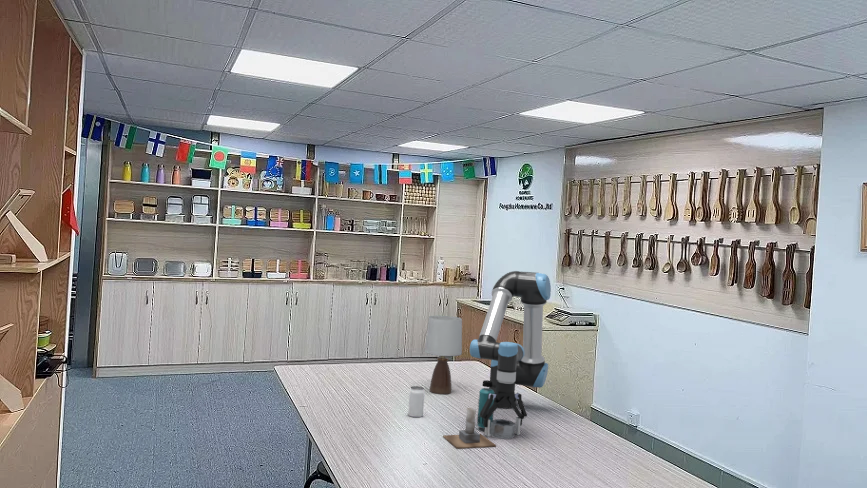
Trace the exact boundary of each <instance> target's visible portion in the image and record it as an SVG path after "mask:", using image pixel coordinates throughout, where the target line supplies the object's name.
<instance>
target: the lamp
mask: <svg viewBox="0 0 867 488" xmlns="http://www.w3.org/2000/svg"><path fill="white" fill-rule="evenodd" d="M462 323H463V319H462V318H461V317H457V316H449V315H430V316H428V323H427V329H426V338H425V345H424V353H426V354H429V355H433V356H437V358H436V361H437V362H436V364H435V365H434V366H435V367H434V368H433V372H432V376H431V379H430V383H429V385H430V386H429V392H431V393H433V394H436V395H437V394H439V395H449V394H451V393H452V390H453V389H452V388H453V387H452V376H451V369H450V366H449V363H448V361H449V358H448V357H458V356H462V353H463V351H462V350H463V348H462V347H463V324H462ZM438 356H439V357H438Z"/></svg>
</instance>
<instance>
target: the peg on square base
mask: <svg viewBox="0 0 867 488" xmlns="http://www.w3.org/2000/svg"><path fill="white" fill-rule="evenodd" d="M476 412H477V409H476V408H474V407H467V408H466V415H465V428H464V429H463V430H459V433H458V434H448V435H447V434H446V435H442V438H443V439H444V440H445V441H447V442H448V443H449V444H451V445H452V447H454V448H455V449H456V450H460V449H461V450H463V449H481V448H482V449H483V448H496V447H497V445H496V444H495V443H494V442H492V440H490V439H488V438H487V436H484V435H483V434H481V433H479V432H478V431H476V430H475V425H476Z"/></svg>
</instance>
